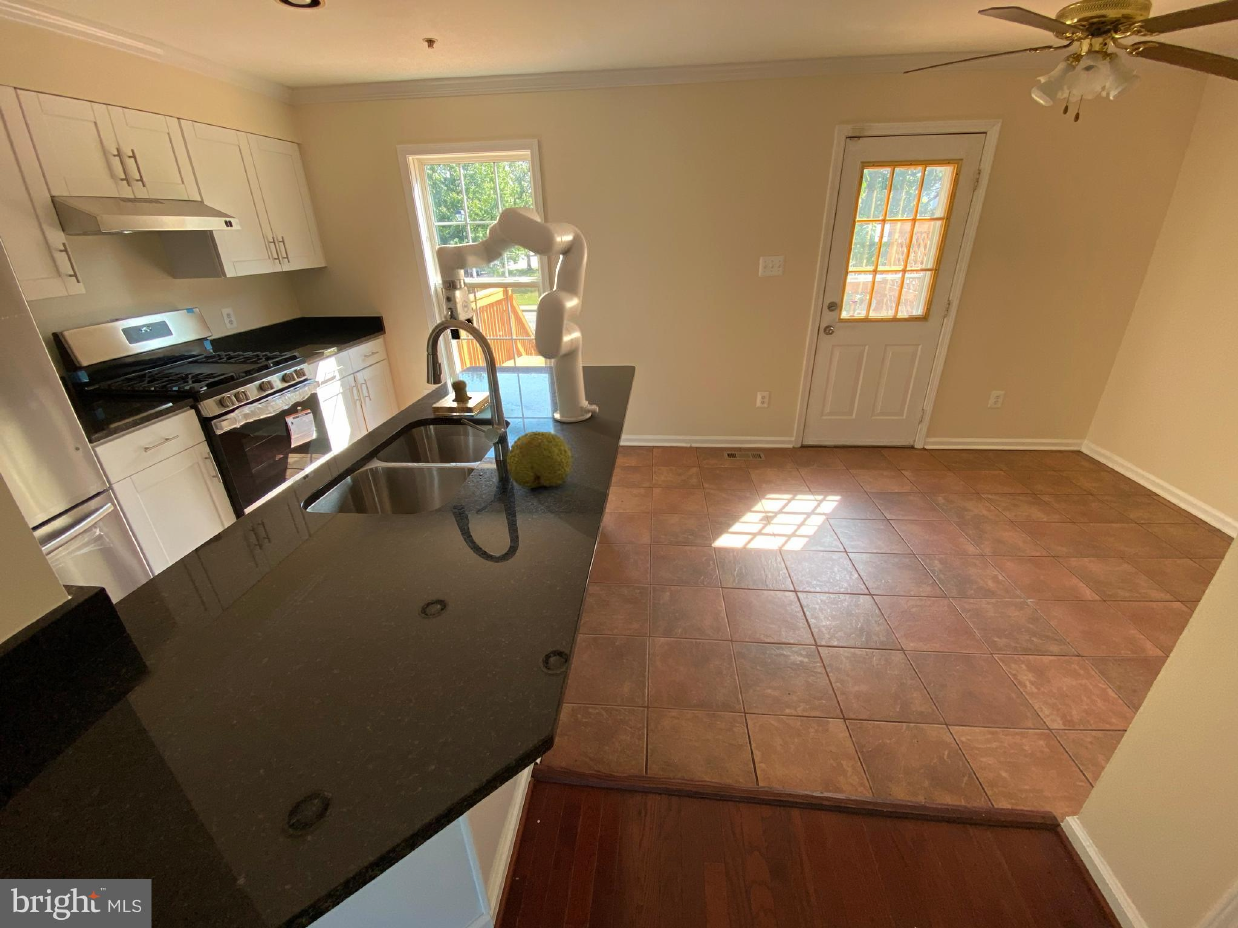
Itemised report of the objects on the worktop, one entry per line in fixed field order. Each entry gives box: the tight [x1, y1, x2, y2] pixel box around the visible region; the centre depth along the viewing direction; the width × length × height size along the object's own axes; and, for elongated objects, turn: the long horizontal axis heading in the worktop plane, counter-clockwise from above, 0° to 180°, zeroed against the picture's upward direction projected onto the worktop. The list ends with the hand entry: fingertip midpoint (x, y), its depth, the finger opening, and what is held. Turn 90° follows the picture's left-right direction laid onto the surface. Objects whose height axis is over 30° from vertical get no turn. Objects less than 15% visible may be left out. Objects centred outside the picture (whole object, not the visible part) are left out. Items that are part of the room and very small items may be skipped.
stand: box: [431, 391, 491, 418], centre depth 184 cm, size 16×16×4 cm
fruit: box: [505, 430, 573, 489], centre depth 125 cm, size 16×14×15 cm
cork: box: [451, 379, 470, 403], centre depth 183 cm, size 6×6×11 cm
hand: (463, 336), depth 176 cm, fingers open, 9 cm apart
